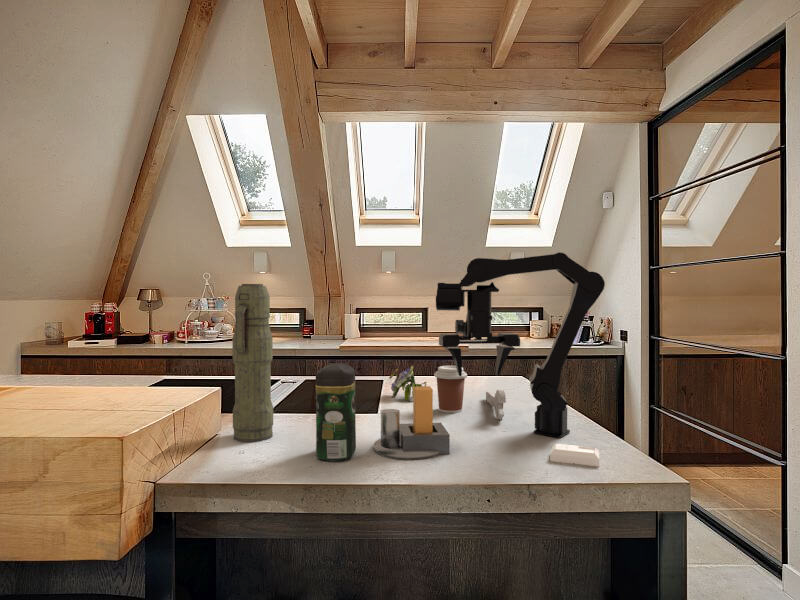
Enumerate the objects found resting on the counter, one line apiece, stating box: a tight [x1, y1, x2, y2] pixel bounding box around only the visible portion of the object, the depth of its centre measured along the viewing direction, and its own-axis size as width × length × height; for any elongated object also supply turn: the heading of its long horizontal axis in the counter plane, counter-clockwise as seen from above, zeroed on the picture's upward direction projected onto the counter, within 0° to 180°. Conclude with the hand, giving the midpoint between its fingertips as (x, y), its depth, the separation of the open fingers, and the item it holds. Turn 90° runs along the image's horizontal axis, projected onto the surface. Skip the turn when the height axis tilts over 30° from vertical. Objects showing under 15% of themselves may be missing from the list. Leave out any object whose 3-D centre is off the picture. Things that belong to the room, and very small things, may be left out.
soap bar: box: [549, 443, 600, 467], centre depth 102 cm, size 5×9×3 cm, turn 69°
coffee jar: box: [314, 362, 357, 462], centre depth 104 cm, size 10×8×19 cm
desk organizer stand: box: [373, 408, 451, 461], centre depth 109 cm, size 15×15×8 cm
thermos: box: [232, 283, 274, 443], centre depth 117 cm, size 9×12×35 cm
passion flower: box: [388, 365, 427, 402], centre depth 160 cm, size 11×11×12 cm
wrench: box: [485, 389, 507, 420], centre depth 142 cm, size 8×2×30 cm
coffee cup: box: [433, 365, 468, 414], centre depth 143 cm, size 9×9×12 cm
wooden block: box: [412, 385, 434, 433], centre depth 109 cm, size 4×4×12 cm
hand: (478, 375), depth 123 cm, fingers open, 9 cm apart
